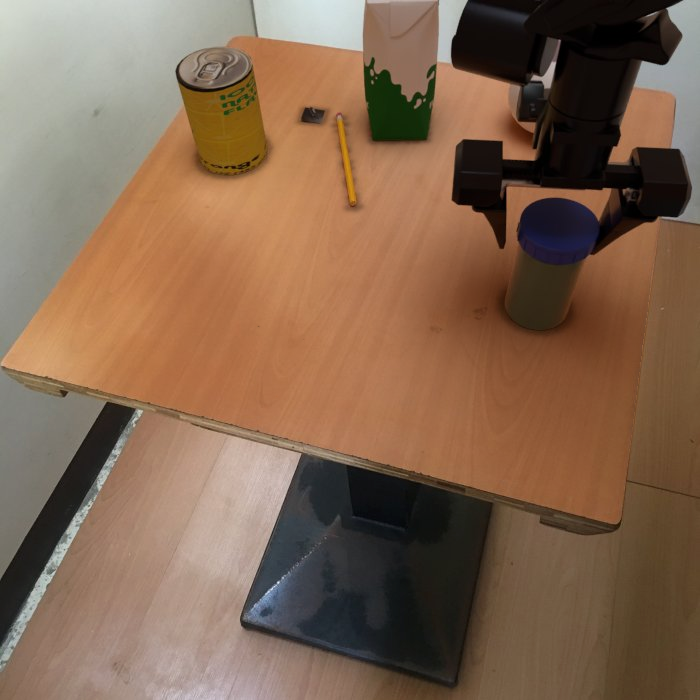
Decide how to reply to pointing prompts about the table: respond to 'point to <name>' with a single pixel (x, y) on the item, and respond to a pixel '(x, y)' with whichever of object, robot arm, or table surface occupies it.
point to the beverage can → (223, 109)
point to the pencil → (346, 160)
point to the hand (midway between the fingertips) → (546, 248)
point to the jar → (540, 291)
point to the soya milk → (400, 66)
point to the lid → (558, 231)
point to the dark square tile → (312, 115)
